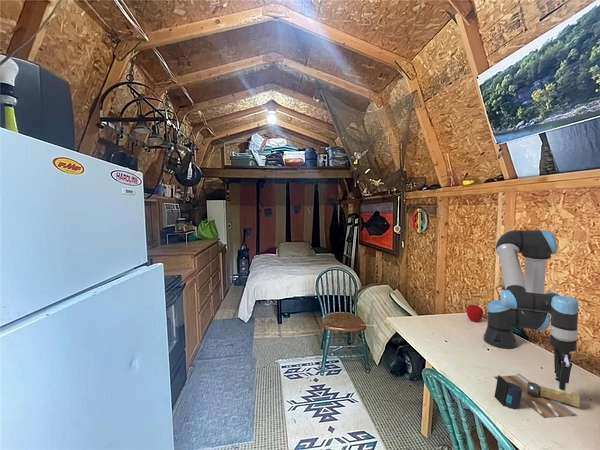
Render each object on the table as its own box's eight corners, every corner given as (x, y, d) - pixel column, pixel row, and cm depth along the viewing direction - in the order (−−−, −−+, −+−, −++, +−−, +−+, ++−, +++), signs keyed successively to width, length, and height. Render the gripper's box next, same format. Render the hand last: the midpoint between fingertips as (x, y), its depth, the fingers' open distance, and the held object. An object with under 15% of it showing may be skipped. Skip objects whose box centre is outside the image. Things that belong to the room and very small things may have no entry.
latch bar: (527, 394, 114) (527, 384, 114) (527, 389, 117) (527, 379, 117) (579, 410, 105) (579, 398, 105) (577, 404, 108) (578, 393, 108)
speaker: (497, 408, 109) (500, 382, 108) (493, 399, 114) (496, 374, 113) (521, 415, 106) (525, 388, 105) (516, 406, 111) (520, 380, 110)
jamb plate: (518, 377, 128) (518, 373, 128) (575, 419, 103) (575, 414, 103) (493, 379, 127) (493, 375, 127) (544, 421, 102) (544, 416, 102)
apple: (469, 323, 186) (469, 307, 186) (463, 317, 196) (463, 302, 195) (486, 324, 185) (486, 307, 184) (479, 318, 194) (479, 302, 194)
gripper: (546, 328, 116) (543, 383, 118) (555, 342, 105) (552, 402, 107) (570, 332, 113) (568, 389, 115) (582, 347, 102) (579, 409, 104)
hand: (560, 395), depth 111 cm, fingers closed
